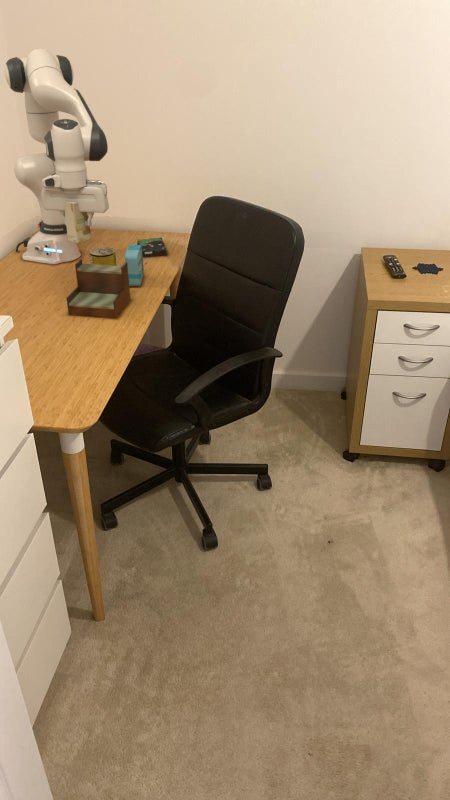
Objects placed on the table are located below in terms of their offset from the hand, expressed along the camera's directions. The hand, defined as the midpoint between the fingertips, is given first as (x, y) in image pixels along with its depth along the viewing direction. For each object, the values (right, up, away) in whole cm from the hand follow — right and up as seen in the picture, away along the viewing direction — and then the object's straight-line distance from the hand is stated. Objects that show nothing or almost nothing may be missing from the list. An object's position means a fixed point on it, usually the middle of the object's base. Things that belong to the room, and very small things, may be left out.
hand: (78, 225), depth 200 cm
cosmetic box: (0, -4, +2) cm, 5 cm away
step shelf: (+4, -23, +15) cm, 28 cm away
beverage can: (+2, -12, +32) cm, 35 cm away
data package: (+13, -11, +34) cm, 38 cm away
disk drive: (+16, +6, +62) cm, 64 cm away
